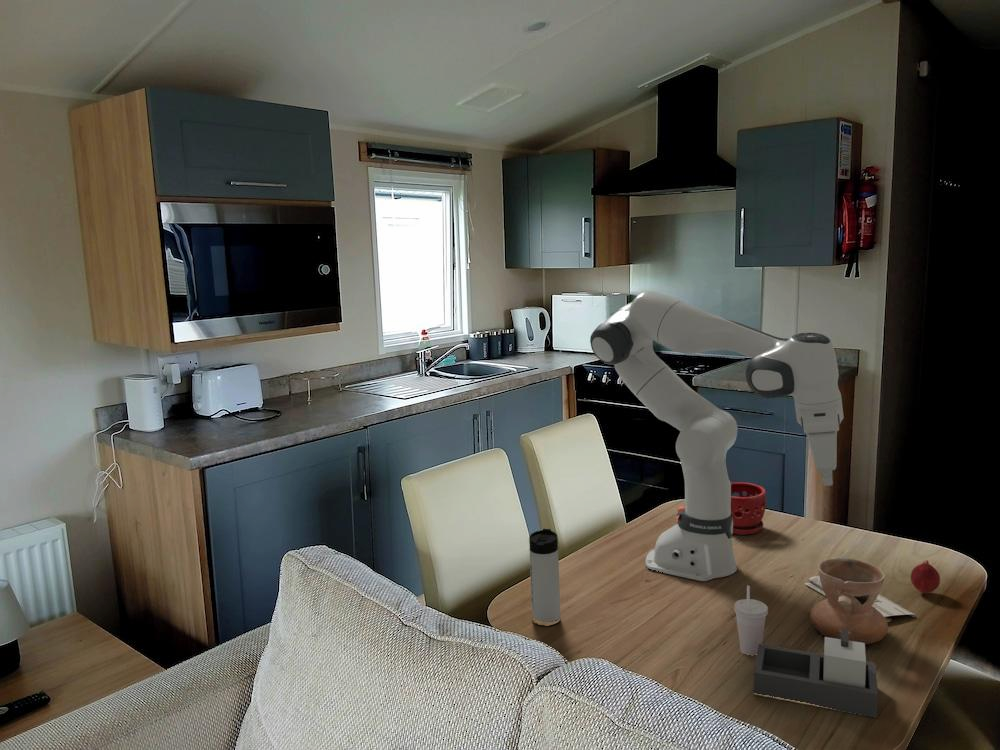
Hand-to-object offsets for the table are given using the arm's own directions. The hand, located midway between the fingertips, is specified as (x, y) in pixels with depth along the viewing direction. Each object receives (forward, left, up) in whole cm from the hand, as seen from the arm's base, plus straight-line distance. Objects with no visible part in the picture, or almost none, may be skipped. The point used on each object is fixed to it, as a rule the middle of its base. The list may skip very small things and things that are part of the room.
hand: (827, 476), depth 155 cm
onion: (+21, +21, -33) cm, 44 cm away
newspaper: (+7, +13, -33) cm, 36 cm away
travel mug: (-56, -18, -33) cm, 67 cm away
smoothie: (-13, -17, -33) cm, 39 cm away
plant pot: (-22, +49, -33) cm, 63 cm away
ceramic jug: (+5, -3, -33) cm, 33 cm away
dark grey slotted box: (-1, -24, -32) cm, 40 cm away
